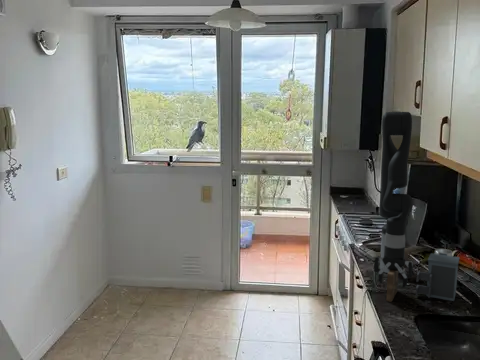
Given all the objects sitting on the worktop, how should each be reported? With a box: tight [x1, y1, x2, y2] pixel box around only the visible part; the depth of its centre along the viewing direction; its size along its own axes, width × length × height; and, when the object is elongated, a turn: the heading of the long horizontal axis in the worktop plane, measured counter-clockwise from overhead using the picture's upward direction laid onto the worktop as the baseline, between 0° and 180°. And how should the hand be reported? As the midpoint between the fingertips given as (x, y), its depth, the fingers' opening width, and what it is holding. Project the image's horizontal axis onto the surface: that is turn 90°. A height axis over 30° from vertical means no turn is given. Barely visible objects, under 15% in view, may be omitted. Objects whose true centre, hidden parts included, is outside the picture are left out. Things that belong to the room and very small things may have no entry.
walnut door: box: [385, 270, 399, 303], centre depth 189 cm, size 12×3×11 cm, turn 152°
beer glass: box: [434, 248, 453, 256], centre depth 200 cm, size 7×7×15 cm
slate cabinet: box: [415, 252, 460, 302], centre depth 190 cm, size 12×14×15 cm
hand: (392, 284), depth 190 cm, fingers open, 8 cm apart
